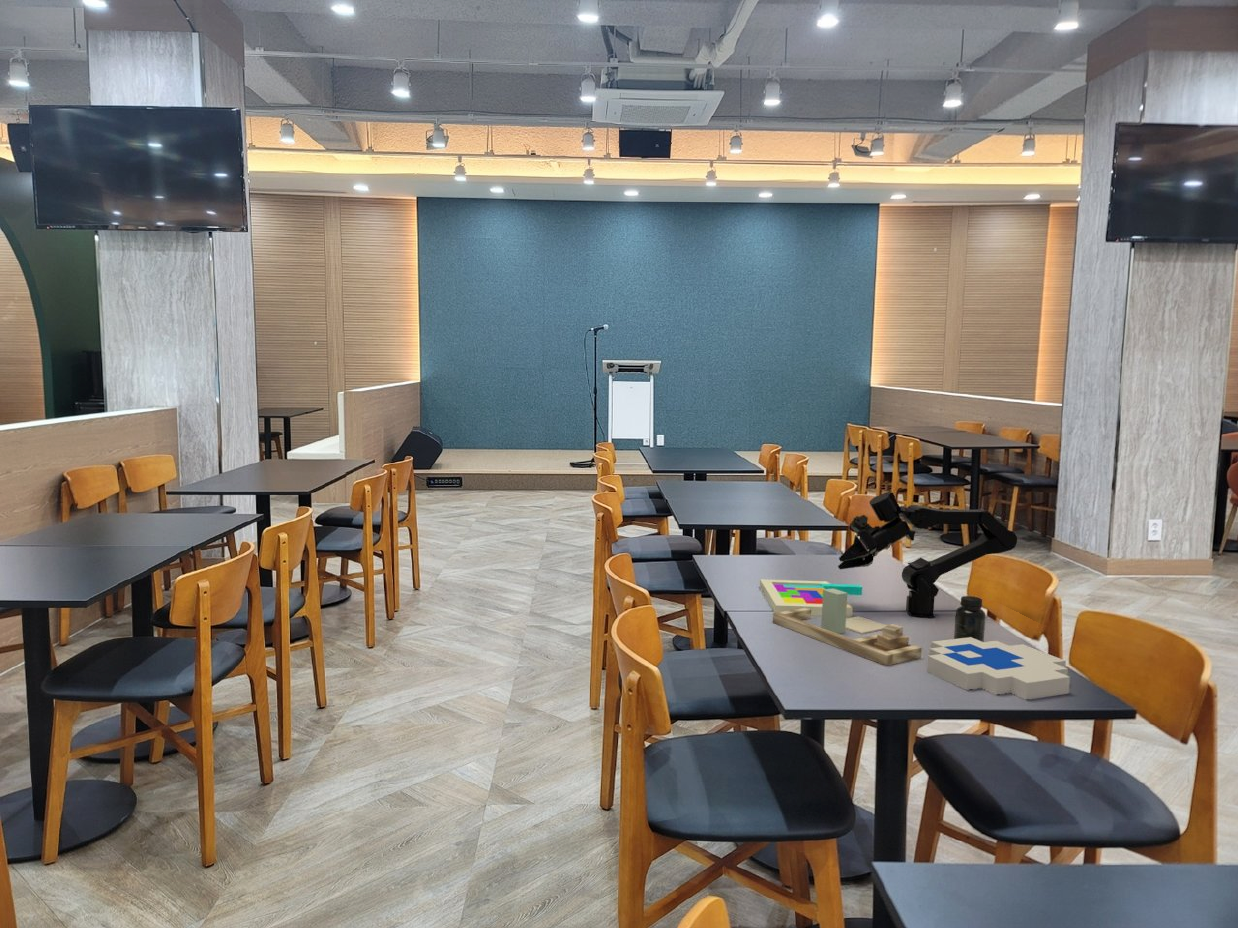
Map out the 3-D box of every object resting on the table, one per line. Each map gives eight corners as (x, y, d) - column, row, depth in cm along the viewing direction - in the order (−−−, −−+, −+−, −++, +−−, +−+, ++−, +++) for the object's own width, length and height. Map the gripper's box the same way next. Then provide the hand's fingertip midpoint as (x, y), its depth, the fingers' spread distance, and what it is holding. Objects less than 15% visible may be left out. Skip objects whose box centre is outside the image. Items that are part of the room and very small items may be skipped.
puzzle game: (775, 615, 232) (884, 619, 232) (776, 605, 232) (885, 608, 231) (759, 588, 262) (856, 591, 262) (760, 579, 262) (857, 582, 261)
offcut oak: (896, 640, 205) (897, 632, 205) (908, 645, 201) (908, 637, 201) (876, 642, 203) (877, 634, 202) (888, 647, 199) (888, 639, 199)
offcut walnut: (893, 648, 206) (893, 638, 206) (909, 654, 202) (910, 644, 202) (873, 653, 202) (874, 643, 202) (890, 659, 198) (890, 649, 198)
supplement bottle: (973, 640, 213) (976, 594, 212) (989, 649, 206) (992, 601, 205) (948, 641, 212) (951, 594, 210) (963, 650, 205) (966, 602, 204)
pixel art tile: (997, 687, 171) (903, 644, 197) (995, 706, 171) (902, 661, 197) (1097, 672, 181) (996, 634, 207) (1095, 690, 181) (995, 650, 207)
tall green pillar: (830, 627, 221) (832, 588, 220) (845, 632, 217) (847, 592, 216) (821, 629, 219) (823, 589, 218) (835, 634, 215) (837, 594, 214)
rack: (805, 616, 231) (806, 607, 230) (920, 657, 199) (921, 647, 198) (772, 622, 224) (773, 613, 224) (886, 665, 192) (886, 655, 192)
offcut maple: (890, 631, 205) (891, 624, 204) (902, 634, 203) (903, 626, 202) (882, 635, 202) (882, 627, 201) (894, 638, 199) (894, 630, 199)
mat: (858, 617, 231) (858, 616, 231) (890, 628, 222) (890, 626, 222) (829, 622, 225) (829, 621, 225) (861, 634, 216) (861, 632, 216)
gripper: (868, 520, 245) (822, 548, 245) (872, 501, 228) (822, 531, 228) (891, 552, 240) (844, 580, 240) (897, 534, 223) (846, 565, 223)
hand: (839, 564), depth 233 cm, fingers open, 9 cm apart
